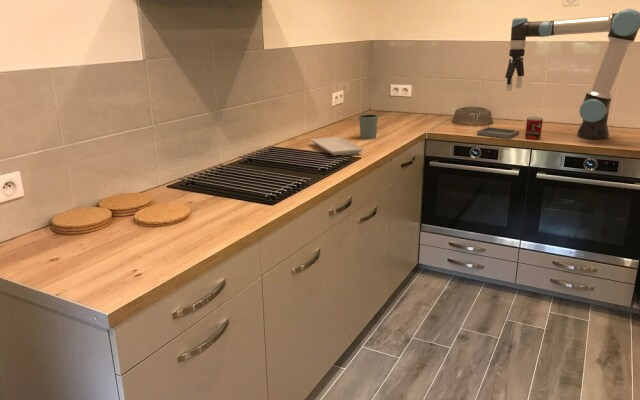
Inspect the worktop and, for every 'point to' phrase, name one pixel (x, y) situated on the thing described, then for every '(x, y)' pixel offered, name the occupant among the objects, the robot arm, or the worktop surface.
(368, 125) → the grey green cup
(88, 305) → the worktop surface
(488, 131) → the tray
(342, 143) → the tray
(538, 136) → the canned food
